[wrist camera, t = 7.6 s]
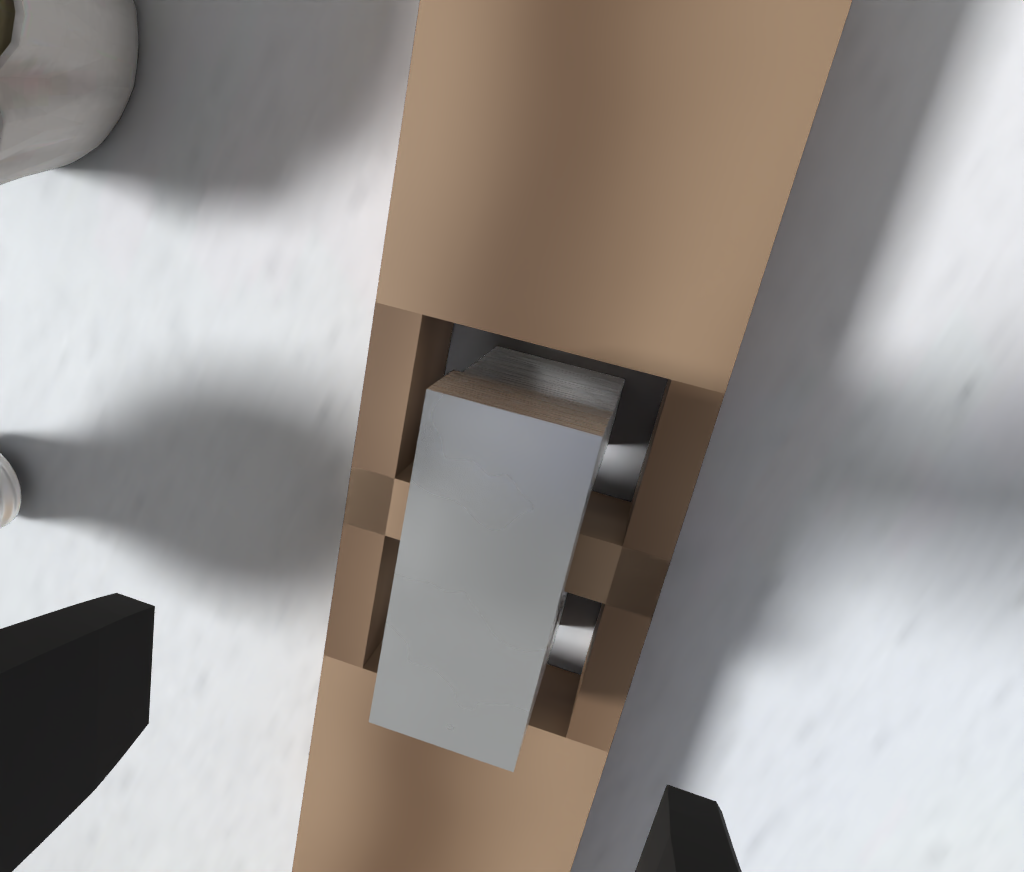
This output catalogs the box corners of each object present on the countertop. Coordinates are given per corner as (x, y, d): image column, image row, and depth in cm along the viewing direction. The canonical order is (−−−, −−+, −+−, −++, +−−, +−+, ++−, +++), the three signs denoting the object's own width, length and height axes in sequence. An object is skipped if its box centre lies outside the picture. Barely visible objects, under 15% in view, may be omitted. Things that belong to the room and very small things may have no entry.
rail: (849, -40, 13) (880, -88, 11) (550, 900, 22) (534, 981, 19) (481, -102, 14) (443, -158, 12) (329, 817, 23) (289, 884, 20)
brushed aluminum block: (627, 370, 16) (602, 436, 12) (557, 631, 19) (513, 772, 14) (498, 337, 17) (426, 388, 12) (446, 597, 19) (368, 722, 15)
